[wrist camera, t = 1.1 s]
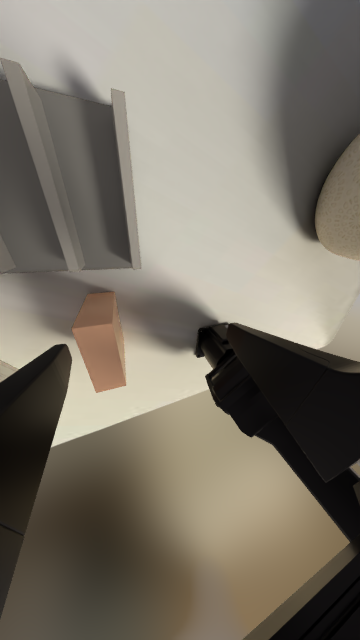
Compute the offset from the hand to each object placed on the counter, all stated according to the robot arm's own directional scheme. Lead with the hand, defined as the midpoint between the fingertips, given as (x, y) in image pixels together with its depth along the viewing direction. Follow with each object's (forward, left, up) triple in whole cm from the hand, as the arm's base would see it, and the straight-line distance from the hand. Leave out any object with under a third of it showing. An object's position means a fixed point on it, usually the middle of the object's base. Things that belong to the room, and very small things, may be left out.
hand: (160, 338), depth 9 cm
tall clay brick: (-6, +5, -13) cm, 15 cm away
